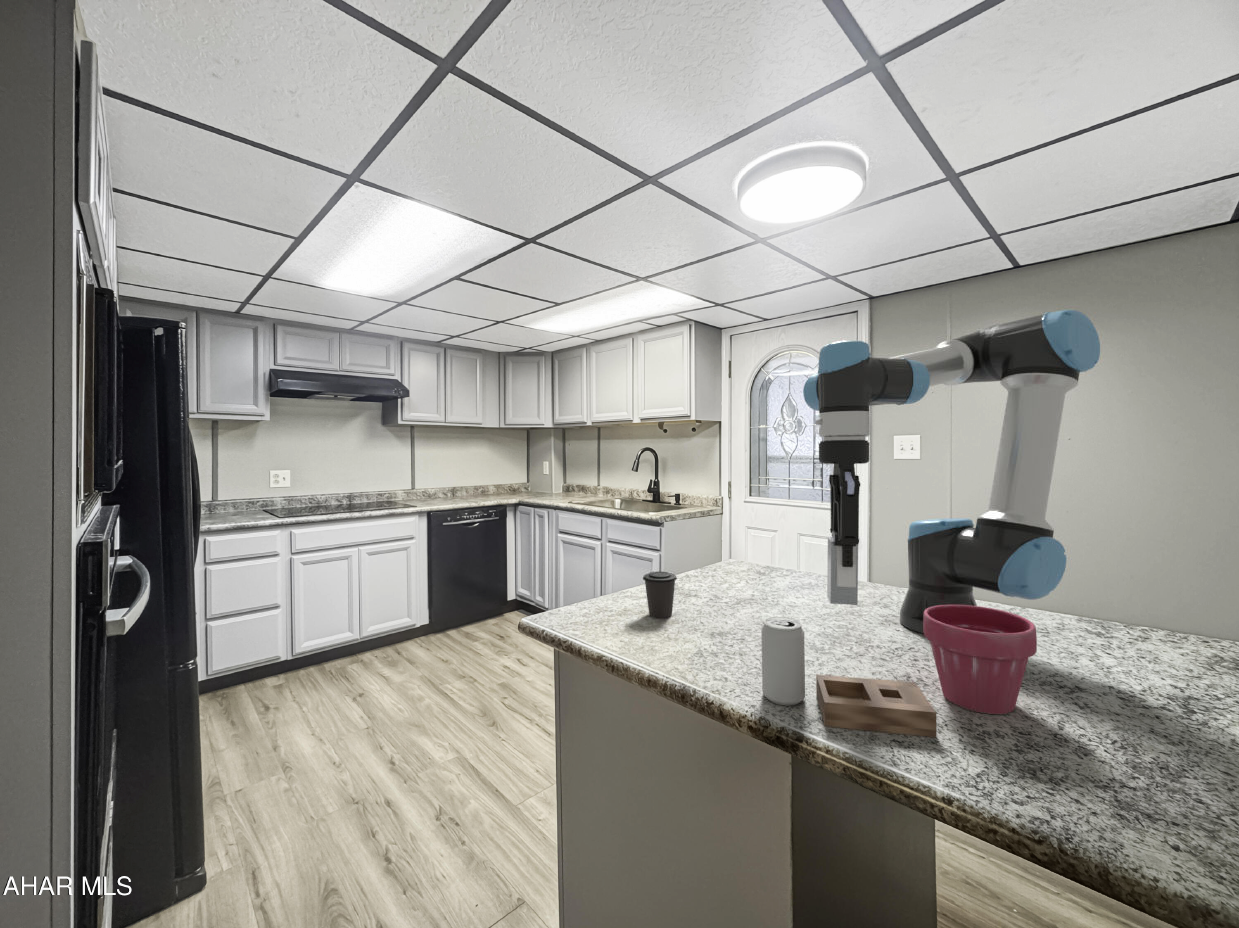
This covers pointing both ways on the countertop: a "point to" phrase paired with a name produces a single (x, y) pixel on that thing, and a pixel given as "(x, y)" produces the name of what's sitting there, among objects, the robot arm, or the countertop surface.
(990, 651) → the plant pot
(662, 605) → the coffee cup
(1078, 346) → the robot arm
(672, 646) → the countertop surface
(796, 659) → the beverage can
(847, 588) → the grey square peg
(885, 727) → the socket block
